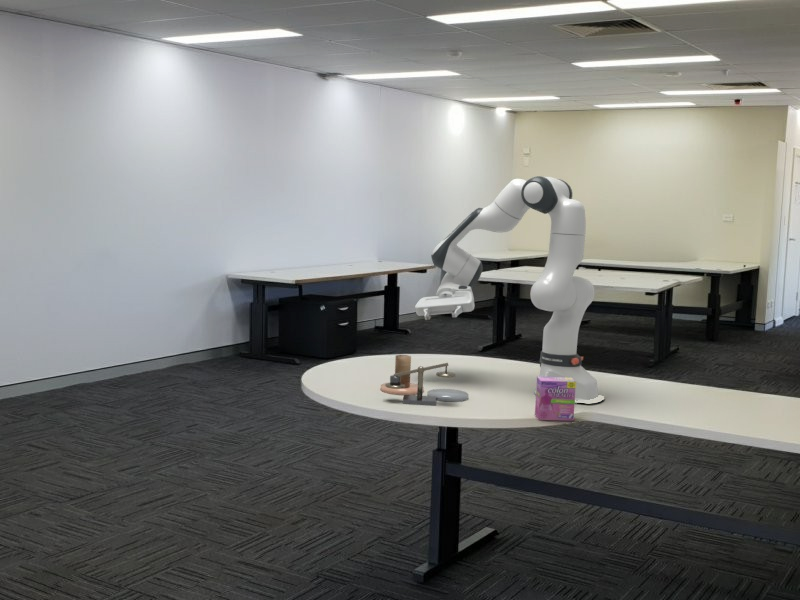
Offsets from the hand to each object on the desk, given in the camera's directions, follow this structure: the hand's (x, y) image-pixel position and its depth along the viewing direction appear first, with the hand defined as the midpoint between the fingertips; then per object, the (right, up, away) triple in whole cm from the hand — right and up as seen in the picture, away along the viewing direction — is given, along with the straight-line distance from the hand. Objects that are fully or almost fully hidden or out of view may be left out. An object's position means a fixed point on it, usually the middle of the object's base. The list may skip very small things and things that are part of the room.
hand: (440, 316), depth 279 cm
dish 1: (-13, -24, -6) cm, 28 cm away
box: (+31, -29, -35) cm, 55 cm away
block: (-13, -23, -6) cm, 27 cm away
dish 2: (+2, -25, -13) cm, 28 cm away
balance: (-7, -26, -21) cm, 34 cm away
